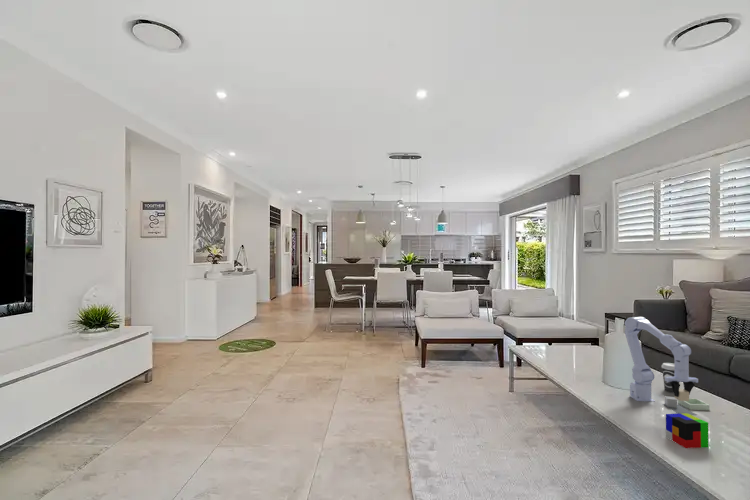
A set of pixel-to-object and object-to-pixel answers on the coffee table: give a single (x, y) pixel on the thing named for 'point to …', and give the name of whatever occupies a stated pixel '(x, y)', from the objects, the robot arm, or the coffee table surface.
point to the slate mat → (680, 410)
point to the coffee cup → (668, 375)
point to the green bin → (694, 404)
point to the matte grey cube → (670, 401)
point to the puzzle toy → (687, 430)
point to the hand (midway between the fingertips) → (681, 396)
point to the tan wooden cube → (683, 395)
